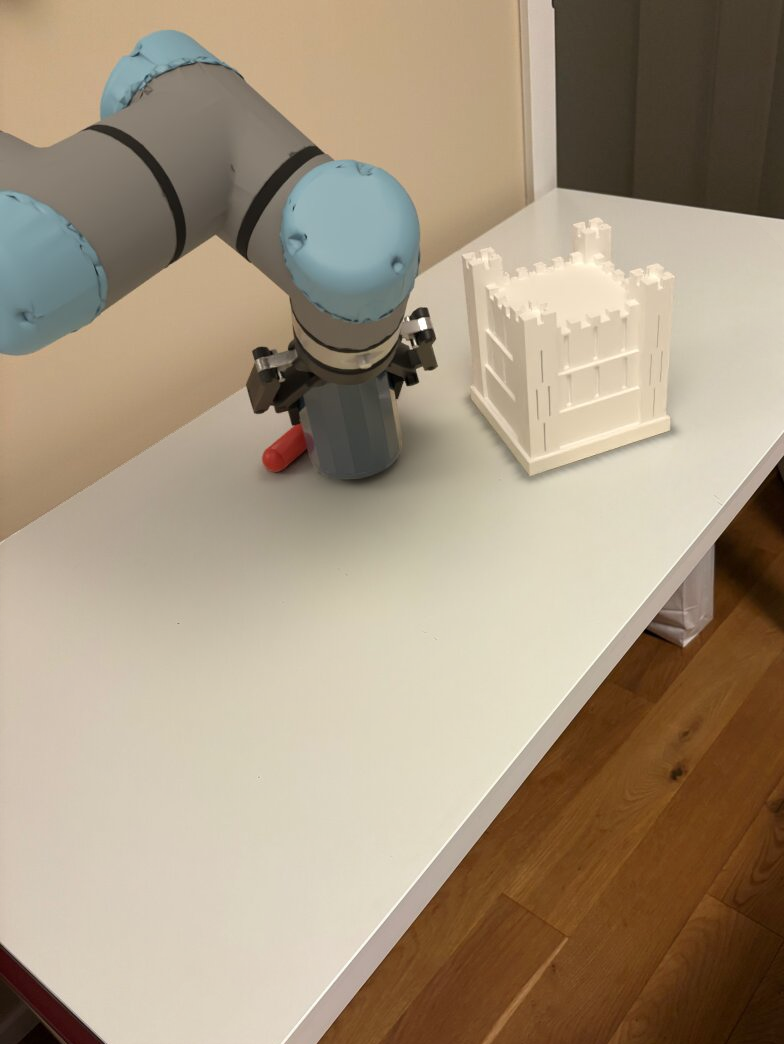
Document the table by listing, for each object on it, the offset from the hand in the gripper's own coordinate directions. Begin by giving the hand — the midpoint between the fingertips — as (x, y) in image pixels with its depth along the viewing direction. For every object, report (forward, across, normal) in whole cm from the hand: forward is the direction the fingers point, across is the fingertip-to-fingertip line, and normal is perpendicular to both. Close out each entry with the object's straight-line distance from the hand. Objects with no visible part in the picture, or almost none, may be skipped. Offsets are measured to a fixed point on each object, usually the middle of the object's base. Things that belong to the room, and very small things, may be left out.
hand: (341, 398), depth 87 cm
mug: (+2, 0, -3) cm, 4 cm away
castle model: (+1, +20, -7) cm, 22 cm away
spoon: (+7, -2, -1) cm, 7 cm away
